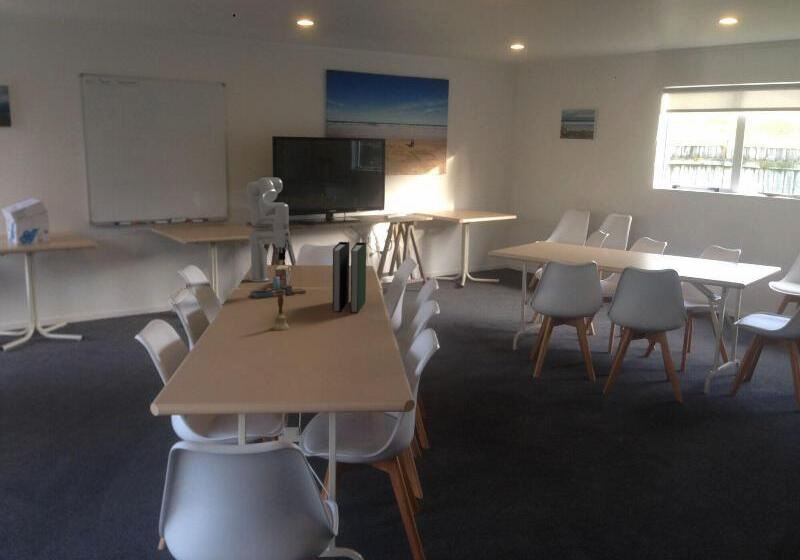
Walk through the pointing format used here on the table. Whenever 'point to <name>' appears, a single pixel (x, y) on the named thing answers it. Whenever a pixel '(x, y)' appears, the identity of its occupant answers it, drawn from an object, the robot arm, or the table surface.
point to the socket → (277, 292)
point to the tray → (260, 294)
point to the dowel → (275, 283)
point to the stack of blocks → (283, 274)
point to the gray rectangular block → (287, 288)
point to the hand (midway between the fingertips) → (282, 259)
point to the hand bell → (280, 317)
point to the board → (298, 291)
